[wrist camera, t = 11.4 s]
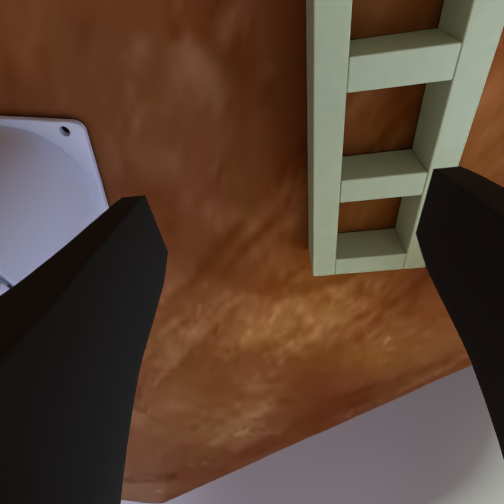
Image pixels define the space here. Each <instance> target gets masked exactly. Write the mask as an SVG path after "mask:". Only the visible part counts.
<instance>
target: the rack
mask: <svg viewBox="0 0 504 504" xmlns="http://www.w3.org/2000/svg"><path fill="white" fill-rule="evenodd" d="M351 14H352V0H306V46H307V139H308V232H309V255H310V261H311V267H312V273H313V276H322V275H334V274H346V273H359V272H371V271H384V270H396V269H402V268H403V269H409V268H421V267H425V266H426V265H425V262H424V259H423V256H422V253H421V250H420V247H419V243H418V240H417V236H416V230H417V226H418V223H419V219H420V216H421V212H422V208H423V205H424V201H425V197H426V194H427V190H428V186H429V183H430V179H431V176H432V172H433V169H436V168H447V167H458V165H459V161H460V158H461V155H462V152H463V149H464V146H465V143H466V140H467V137H468V134H469V131H470V128H471V125H472V122H473V119H474V115H475V112H476V109H477V106H478V103H479V100H480V97H481V94H482V91H483V88H484V85H485V82H486V79H487V76H488V73H489V69H490V66H491V63H492V60H493V57H494V54H495V51H496V48H497V45H498V42H499V39H500V36H501V33H502V30H503V26H504V0H444V3H443V8H442V12H441V17H440V21H439V26H438V29H429V30H421V31H414V32H407V33H399V34H392V35H385V36H377V37H370V38H363V39H355V40H350V29H351ZM423 83H426V87H425V91H424V96H423V101H422V105H421V110H420V115H419V119H418V124H417V129H416V133H415V138H414V143H413V147H412V150H411V149H408V150H399V151H390V152H381V153H371V154H362V155H353V156H344V157H342V152H343V137H344V122H345V106H346V92H347V93H350V92H358V91H366V90H374V89H382V88H390V87H398V86H406V85H415V84H423ZM393 197H402V198H401V203H400V208H399V212H398V217H397V222H396V226H395V229H394V228H392V229H381V230H370V231H358V232H347V233H337V229H338V214H339V201H340V202H341V203H342V202H352V201H362V200H372V199H383V198H393Z"/></svg>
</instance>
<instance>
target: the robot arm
mask: <svg viewBox="0 0 504 504" xmlns="http://www.w3.org/2000/svg"><path fill="white" fill-rule="evenodd" d="M62 126H64V127H66V128H68V129H69V131H70V133H67V132H65V131H64V130H63V128H62ZM416 236H417V240H418V243H419V247H420V250H421V253H422V256H423V259H424V262H425V265H426V268H427V270H428V272H429V274H430V277H431V279H432V281H433V283H434V285H435V287H436V289H437V291H438V293H439V295H440V297H441V299H442V301H443V303H444V305H445V307H446V309H447V311H448V313H449V315H450V317H451V320H452V322H453V324H454V326H455V328H456V330H457V332H458V334H459V336H460V338H461V340H462V342H463V344H464V346H465V349H466V351H467V353H468V355H469V358H470V360H471V363H472V365H473V368H474V371H475V374H476V377H477V379H478V382H479V385H480V387H481V390H482V393H483V396H484V399H485V402H486V404H487V408H488V411H489V414H490V417H491V420H492V423H493V426H494V429H495V432H496V435H497V438H498V441H499V445H500V448H501V451H502V455H503V458H504V187H502V186H500V185H498V184H496V183H494V182H492V181H490V180H488V179H487V178H485V177H483V176H481V175H479V174H477V173H475V172H472V171H470V170H468V169H466V168H463V167H461V166H458V167H447V168H436V169H433V172H432V176H431V179H430V183H429V186H428V190H427V194H426V197H425V201H424V205H423V208H422V212H421V216H420V219H419V223H418V226H417V230H416ZM167 255H168V251H167V249H166V246H165V244H164V241H163V239H162V236H161V234H160V231H159V229H158V226H157V224H156V221H155V219H154V216H153V214H152V212H151V209H150V207H149V204H148V202H147V199H146V197H145V196H134V197H123V198H121V199H120V200H119V201H117V202H116V203H115V204H113V205H112V206H111V207H110V208H109V206H108V202H107V199H106V195H105V192H104V188H103V185H102V181H101V178H100V174H99V171H98V167H97V164H96V160H95V157H94V154H93V150H92V147H91V143H90V140H89V136H88V133H87V129H86V127H85V126H84V124H83V123H82V122H80V121H78V120H74V119H55V118H36V117H17V116H0V504H120V502H121V492H122V484H123V475H124V467H125V459H126V450H127V443H128V437H129V430H130V423H131V416H132V410H133V404H134V398H135V393H136V387H137V381H138V375H139V371H140V367H141V363H142V358H143V355H144V351H145V348H146V344H147V341H148V337H149V334H150V330H151V327H152V323H153V320H154V317H155V313H156V310H157V306H158V303H159V299H160V295H161V292H162V288H163V284H164V278H165V271H166V263H167Z"/></svg>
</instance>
